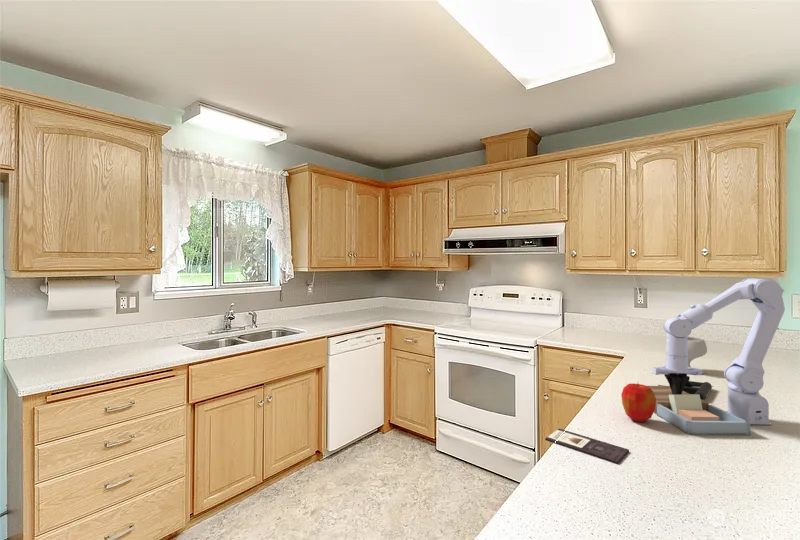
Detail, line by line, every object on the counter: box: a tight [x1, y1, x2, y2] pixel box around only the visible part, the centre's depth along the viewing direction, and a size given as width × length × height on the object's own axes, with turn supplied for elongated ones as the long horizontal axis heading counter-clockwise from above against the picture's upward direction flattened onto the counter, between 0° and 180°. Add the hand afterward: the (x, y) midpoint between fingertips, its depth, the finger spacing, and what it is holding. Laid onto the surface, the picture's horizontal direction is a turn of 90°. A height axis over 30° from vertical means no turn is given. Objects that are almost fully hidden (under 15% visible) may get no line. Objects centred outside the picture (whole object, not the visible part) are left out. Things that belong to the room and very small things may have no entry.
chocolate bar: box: [544, 428, 630, 465], centre depth 102 cm, size 9×1×18 cm
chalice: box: [688, 335, 708, 375], centre depth 174 cm, size 14×14×15 cm
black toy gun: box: [657, 380, 715, 401], centre depth 146 cm, size 3×20×16 cm
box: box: [656, 404, 751, 436], centre depth 115 cm, size 14×17×4 cm
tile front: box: [679, 410, 719, 421], centre depth 116 cm, size 6×8×2 cm
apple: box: [621, 381, 656, 423], centre depth 118 cm, size 9×9×12 cm
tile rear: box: [669, 394, 703, 413], centre depth 121 cm, size 6×8×2 cm
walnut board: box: [647, 385, 710, 415], centre depth 131 cm, size 17×16×4 cm
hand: (676, 396), depth 126 cm, fingers closed
